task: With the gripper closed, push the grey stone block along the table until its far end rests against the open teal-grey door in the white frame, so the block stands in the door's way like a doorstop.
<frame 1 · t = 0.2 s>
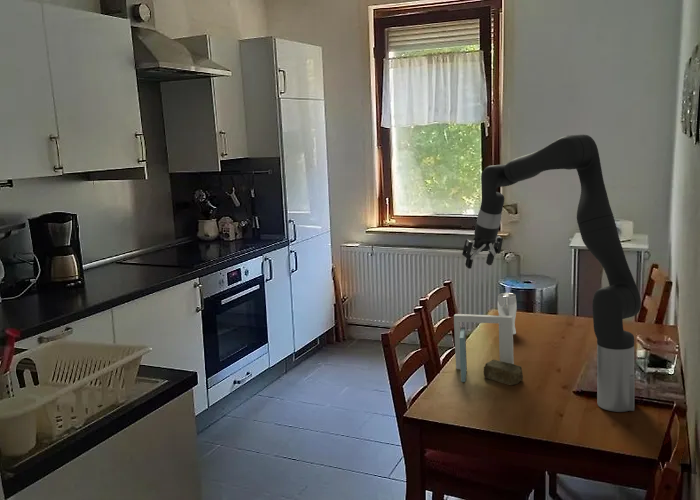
hand: (478, 265, 218), 31 cm above the table, tool tilted 20°, fingers open, 8 cm apart
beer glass: (507, 333, 244), on the table
stone block: (503, 380, 198), on the table
door frame: (481, 369, 208), on the table
door: (463, 353, 202), point 7 cm above the table, hinge at 80.0°
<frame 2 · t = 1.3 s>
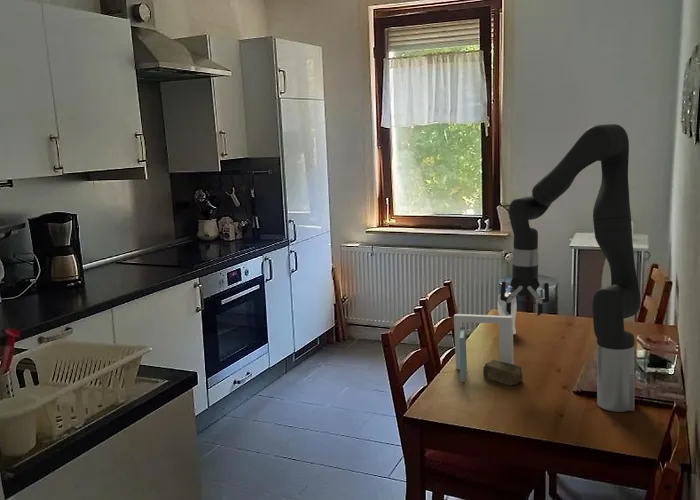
hand: (524, 314, 196), 20 cm above the table, tool pointing down, fingers open, 8 cm apart
nothing on the table moved.
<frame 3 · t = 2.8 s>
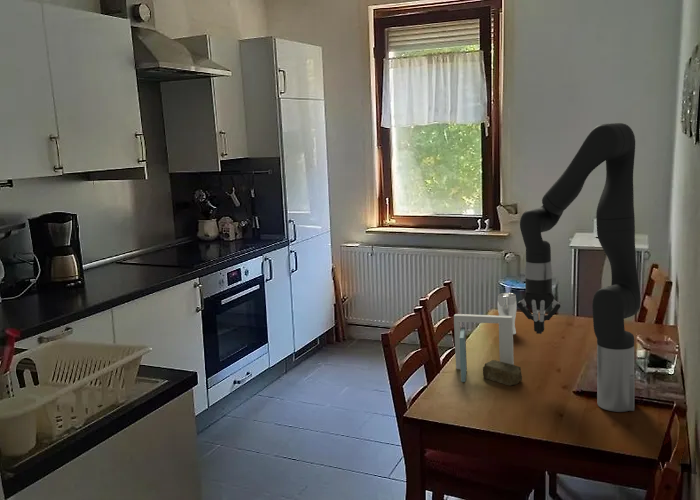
hand: (539, 332, 192), 15 cm above the table, tool pointing down, fingers closed
nothing on the table moved.
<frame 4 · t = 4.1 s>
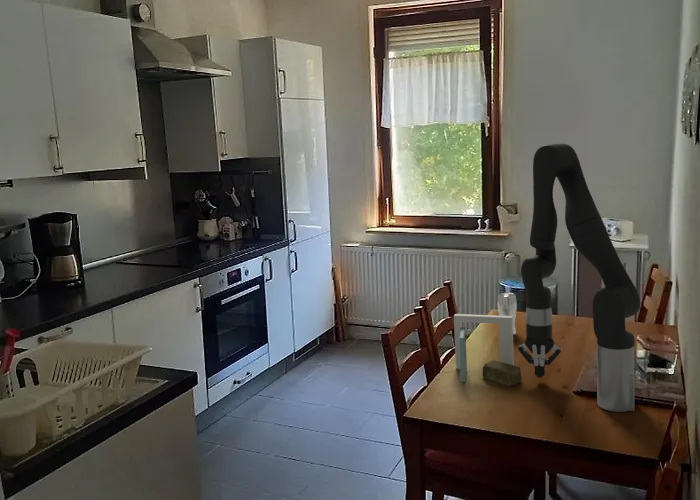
hand: (539, 376, 194), 2 cm above the table, tool pointing down, fingers closed
nothing on the table moved.
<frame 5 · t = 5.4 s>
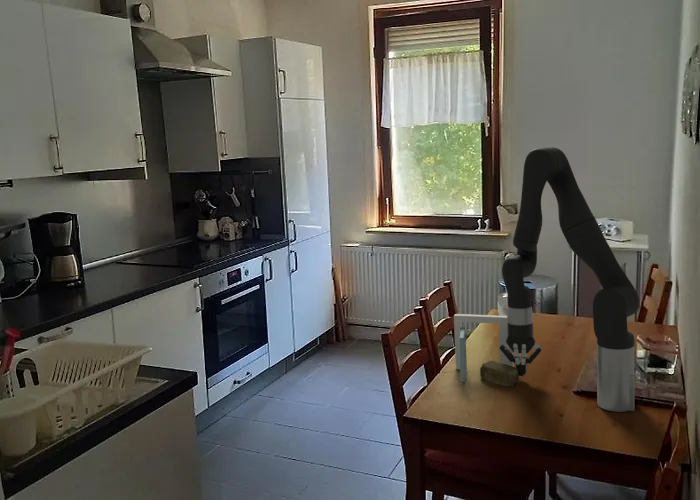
hand: (521, 375, 196), 2 cm above the table, tool pointing down, fingers closed
stone block: (499, 381, 198), on the table, touching gripper
everything else where it was.
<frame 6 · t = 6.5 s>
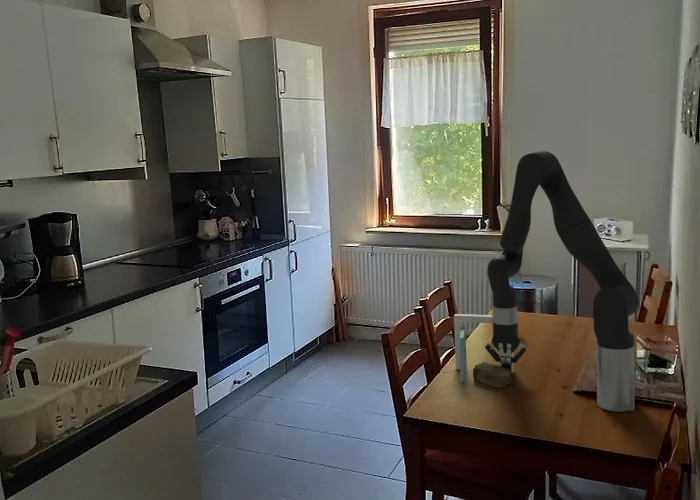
hand: (506, 374, 198), 2 cm above the table, tool pointing down, fingers closed
stone block: (492, 383, 197), on the table
everything else where it was.
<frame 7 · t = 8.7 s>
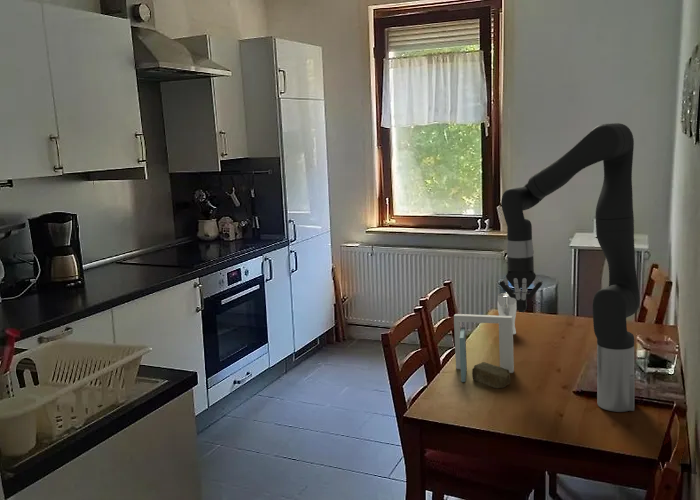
hand: (521, 311, 193), 22 cm above the table, tool pointing down, fingers closed
nothing on the table moved.
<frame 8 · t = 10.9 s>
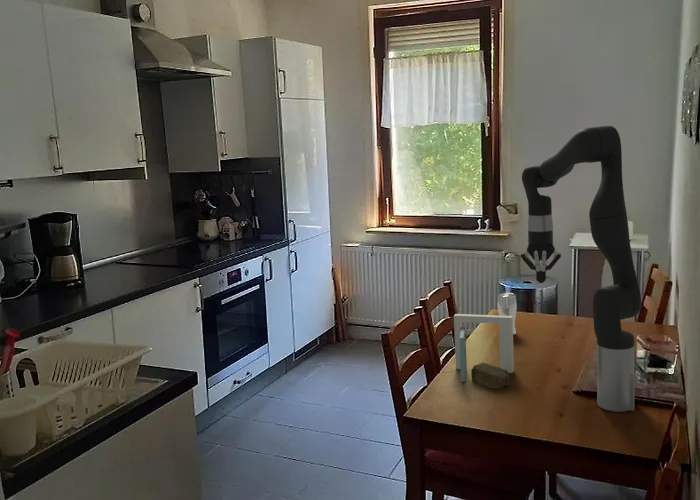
hand: (541, 282, 206), 27 cm above the table, tool pointing down, fingers closed
nothing on the table moved.
at the end: stone block inside the target area (4.9 cm from its centre), on the table; door at +80° (first picture: +80°); stone block moved 5.1 cm from its start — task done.
